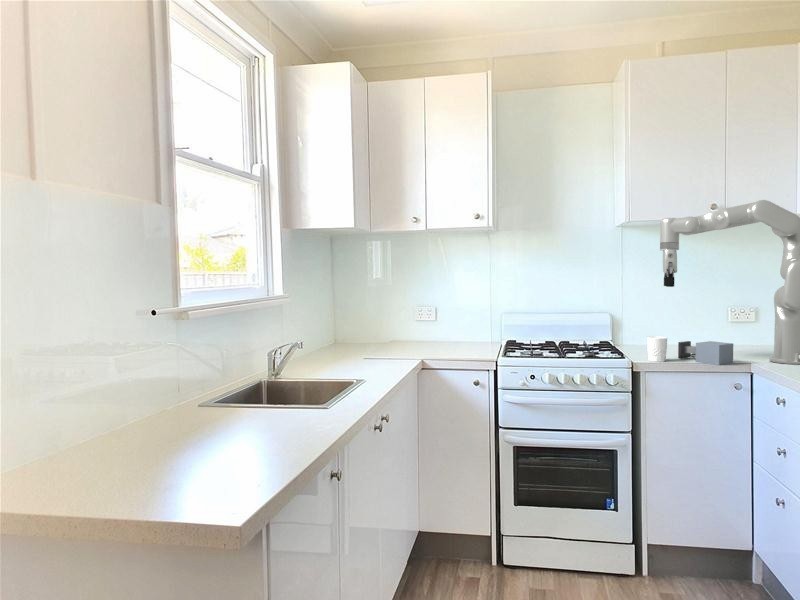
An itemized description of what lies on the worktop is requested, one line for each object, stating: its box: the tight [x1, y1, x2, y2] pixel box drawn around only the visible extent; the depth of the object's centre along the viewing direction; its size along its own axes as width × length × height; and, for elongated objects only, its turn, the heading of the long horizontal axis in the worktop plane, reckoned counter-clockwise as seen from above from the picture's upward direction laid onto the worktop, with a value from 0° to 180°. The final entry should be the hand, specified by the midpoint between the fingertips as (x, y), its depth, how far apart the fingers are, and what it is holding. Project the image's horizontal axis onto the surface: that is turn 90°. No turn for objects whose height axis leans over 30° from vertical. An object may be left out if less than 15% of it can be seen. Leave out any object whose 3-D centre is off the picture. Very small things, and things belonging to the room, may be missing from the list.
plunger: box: [677, 340, 696, 360], centre depth 251 cm, size 10×11×7 cm
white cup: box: [646, 335, 668, 363], centre depth 249 cm, size 8×8×10 cm
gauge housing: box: [693, 340, 734, 366], centre depth 248 cm, size 21×14×8 cm, turn 31°
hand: (668, 286), depth 255 cm, fingers open, 9 cm apart
